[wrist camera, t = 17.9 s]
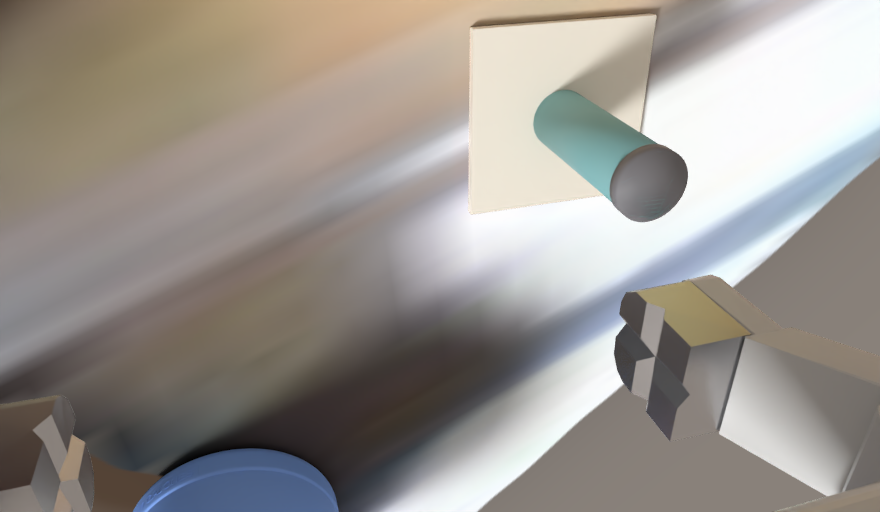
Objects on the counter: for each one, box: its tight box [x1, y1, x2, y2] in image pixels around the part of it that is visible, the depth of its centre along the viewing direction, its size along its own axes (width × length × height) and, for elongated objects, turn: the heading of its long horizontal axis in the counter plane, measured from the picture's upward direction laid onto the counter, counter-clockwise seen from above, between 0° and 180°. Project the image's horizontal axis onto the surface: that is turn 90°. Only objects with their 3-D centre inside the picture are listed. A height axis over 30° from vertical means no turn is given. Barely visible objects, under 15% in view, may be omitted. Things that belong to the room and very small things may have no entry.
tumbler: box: [533, 90, 688, 222], centre depth 39 cm, size 4×4×11 cm
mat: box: [468, 13, 657, 215], centre depth 44 cm, size 12×12×1 cm
